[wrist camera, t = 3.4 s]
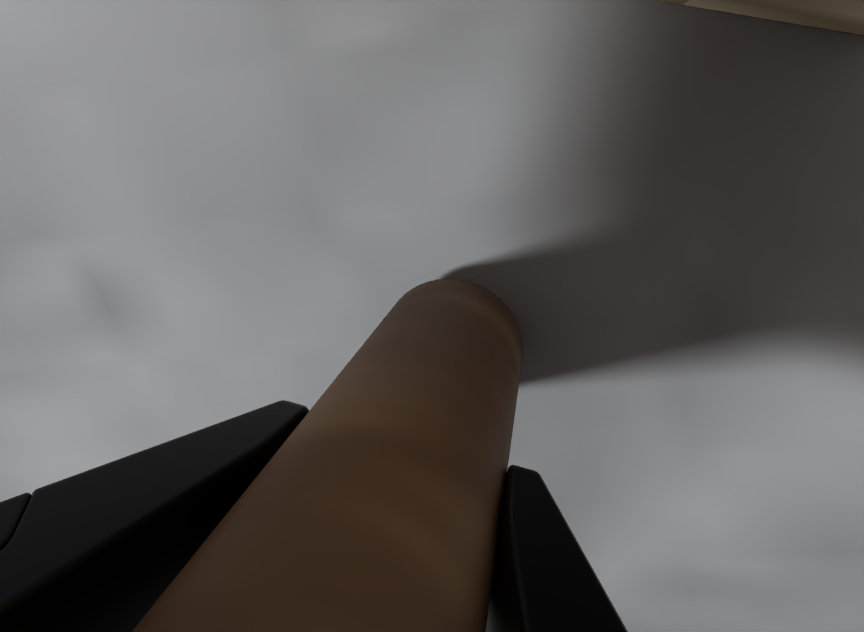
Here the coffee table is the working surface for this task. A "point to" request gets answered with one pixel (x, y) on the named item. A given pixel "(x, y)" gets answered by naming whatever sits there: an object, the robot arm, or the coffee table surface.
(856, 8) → the hole block
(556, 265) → the coffee table surface
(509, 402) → the walnut peg
